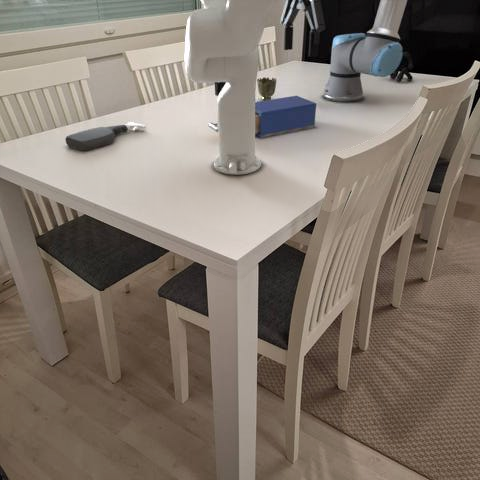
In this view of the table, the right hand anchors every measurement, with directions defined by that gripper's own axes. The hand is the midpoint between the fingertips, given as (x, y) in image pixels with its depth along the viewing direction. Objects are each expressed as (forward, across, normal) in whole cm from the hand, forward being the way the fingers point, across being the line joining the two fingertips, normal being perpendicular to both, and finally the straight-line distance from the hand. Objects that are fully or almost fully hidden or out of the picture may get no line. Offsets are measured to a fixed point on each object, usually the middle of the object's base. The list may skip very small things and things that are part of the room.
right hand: (300, 52), depth 137 cm
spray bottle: (+22, +18, +59) cm, 65 cm away
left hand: (+9, 0, +27) cm, 29 cm away
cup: (+22, +31, -6) cm, 39 cm away
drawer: (+21, 0, +19) cm, 28 cm away
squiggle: (+22, +30, -75) cm, 84 cm away
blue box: (+22, 0, +7) cm, 23 cm away
